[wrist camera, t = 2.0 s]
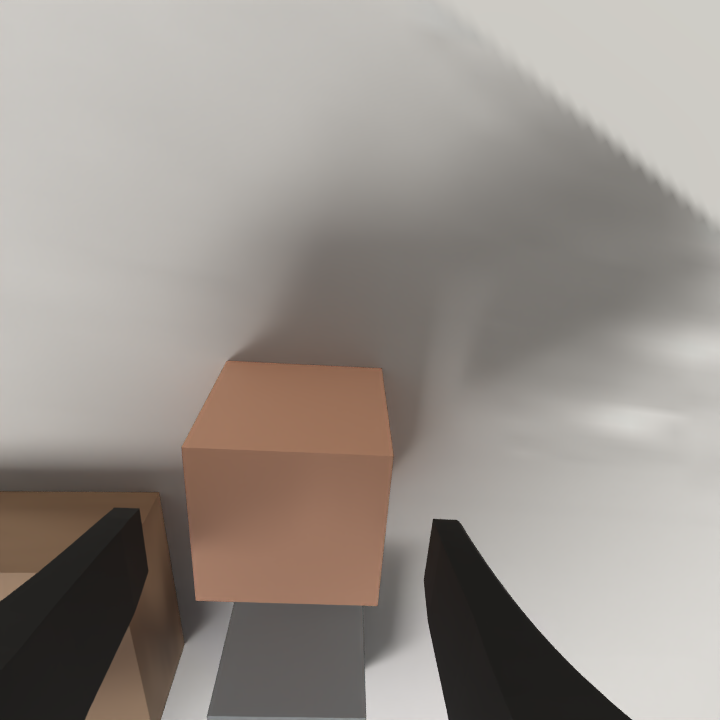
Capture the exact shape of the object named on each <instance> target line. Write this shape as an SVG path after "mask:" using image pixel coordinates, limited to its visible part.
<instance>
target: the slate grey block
mask: <svg viewBox="0 0 720 720" xmlns="http://www.w3.org/2000/svg"><path fill="white" fill-rule="evenodd" d="M207 720H366V695H365V663H364V632H363V606H359V605H324V604H289V603H255V602H234V606H233V610H232V614H231V618H230V622H229V627H228V631H227V635H226V639H225V643H224V647H223V652H222V656H221V660H220V664H219V668H218V673H217V677H216V681H215V685H214V689H213V693H212V698H211V702H210V706H209V710H208V714H207Z"/></svg>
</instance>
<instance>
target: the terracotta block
mask: <svg viewBox="0 0 720 720" xmlns="http://www.w3.org/2000/svg"><path fill="white" fill-rule="evenodd" d="M181 448H182V458H183V469H184V480H185V491H186V501H187V512H188V523H189V533H190V544H191V555H192V565H193V576H194V587H195V598H196V601H220V602H255V603H289V604H324V605H359V606H378V597H379V588H380V579H381V569H382V560H383V551H384V541H385V532H386V523H387V513H388V504H389V495H390V485H391V476H392V467H393V457H394V455H393V448H392V441H391V433H390V426H389V418H388V411H387V404H386V396H385V389H384V381H383V374H382V368H365V367H344V366H324V365H303V364H282V363H262V362H241V361H226V363H225V365H224V367H223V369H222V371H221V373H220V375H219V377H218V379H217V380H216V382H215V384H214V386H213V388H212V390H211V392H210V394H209V396H208V398H207V400H206V401H205V403H204V405H203V407H202V409H201V411H200V413H199V415H198V417H197V419H196V421H195V422H194V424H193V426H192V428H191V430H190V432H189V434H188V436H187V438H186V440H185V442H184V443H183V445H182V447H181Z"/></svg>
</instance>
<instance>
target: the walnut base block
mask: <svg viewBox="0 0 720 720" xmlns="http://www.w3.org/2000/svg"><path fill="white" fill-rule="evenodd" d="M114 507H116V508H140V515H141V522H142V529H143V536H144V543H145V549H146V556H147V563H148V570H149V571H148V575H147V578H146V581H145V584H144V587H143V590H142V593H141V596H140V599H139V602H138V605H137V608H136V611H135V613H134V616H133V618H132V620H131V622H130V624H129V627H128V629H127V631H126V633H125V635H124V637H123V639H122V642H121V644H120V646H119V648H118V650H117V652H116V654H115V656H114V659H113V661H112V663H111V665H110V667H109V669H108V671H107V673H106V675H105V678H104V680H103V682H102V684H101V686H100V688H99V690H98V692H97V694H96V697H95V699H94V701H93V703H92V705H91V707H90V709H89V712H88V714H87V716H86V719H85V720H161V717H162V714H163V711H164V708H165V704H166V701H167V698H168V695H169V692H170V689H171V686H172V682H173V679H174V676H175V673H176V670H177V667H178V664H179V660H180V657H181V654H182V651H183V648H184V645H185V644H184V638H183V632H182V626H181V620H180V614H179V608H178V602H177V596H176V590H175V584H174V578H173V572H172V566H171V560H170V554H169V548H168V542H167V536H166V530H165V524H164V518H163V512H162V506H161V500H160V494H159V492H30V491H0V601H1V600H3V599H4V598H5V597H7V596H8V595H9V594H10V593H12V592H13V591H14V590H16V589H17V588H18V587H20V586H21V585H22V584H23V583H25V582H26V581H27V580H29V579H30V578H31V577H32V576H34V575H35V574H36V573H38V572H39V571H40V570H41V569H42V568H44V567H45V566H46V565H47V564H48V563H50V562H51V561H52V560H53V559H54V558H56V557H57V556H58V555H59V554H60V553H62V552H63V551H64V550H65V549H66V548H67V547H69V546H70V545H71V544H72V543H73V542H74V541H76V540H77V539H78V538H79V537H80V536H81V535H83V534H84V533H85V532H86V531H87V530H88V529H89V528H91V527H92V526H93V525H94V524H95V523H96V522H98V521H99V520H100V519H101V518H102V517H103V516H105V515H106V514H107V513H108V512H109V511H111V510H112V509H113V508H114Z"/></svg>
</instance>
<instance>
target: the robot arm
mask: <svg viewBox="0 0 720 720" xmlns="http://www.w3.org/2000/svg"><path fill="white" fill-rule="evenodd" d="M148 571H149V570H148V563H147V556H146V549H145V543H144V536H143V529H142V522H141V515H140V508H116V507H114V508H113V509H112V510H111V511H109V512H108V513H107V514H106V515H105V516H103V517H102V518H101V519H100V520H99V521H98V522H96V523H95V524H94V525H93V526H92V527H91V528H89V529H88V530H87V531H86V532H85V533H84V534H83V535H81V536H80V537H79V538H78V539H77V540H76V541H74V542H73V543H72V544H71V545H70V546H69V547H67V548H66V549H65V550H64V551H63V552H62V553H60V554H59V555H58V556H57V557H56V558H54V559H53V560H52V561H51V562H50V563H48V564H47V565H46V566H45V567H44V568H42V569H41V570H40V571H39V572H38V573H36V574H35V575H34V576H32V577H31V578H30V579H29V580H27V581H26V582H25V583H23V584H22V585H21V586H20V587H18V588H17V589H16V590H14V591H13V592H12V593H10V594H9V595H8V596H7V597H5V598H4V599H3V600H1V601H0V720H85V719H86V716H87V714H88V712H89V709H90V707H91V705H92V703H93V701H94V699H95V697H96V694H97V692H98V690H99V688H100V686H101V684H102V682H103V680H104V678H105V675H106V673H107V671H108V669H109V667H110V665H111V663H112V661H113V659H114V656H115V654H116V652H117V650H118V648H119V646H120V644H121V642H122V639H123V637H124V635H125V633H126V631H127V629H128V627H129V624H130V622H131V620H132V618H133V616H134V613H135V611H136V608H137V605H138V602H139V599H140V596H141V593H142V590H143V587H144V584H145V581H146V578H147V575H148ZM424 587H425V598H426V608H427V617H428V624H429V629H430V634H431V638H432V643H433V648H434V653H435V658H436V662H437V667H438V672H439V676H440V681H441V686H442V690H443V695H444V700H445V704H446V709H447V714H448V719H449V720H632V719H630V718H629V717H628V716H627V715H626V714H624V713H623V712H622V711H621V710H620V709H618V708H617V707H616V706H615V705H614V704H613V703H612V702H611V701H609V700H608V699H607V698H606V697H605V696H604V695H603V694H602V693H601V692H600V691H598V690H597V689H596V688H595V687H594V686H593V685H592V684H591V683H590V682H589V681H587V680H586V679H585V678H584V677H583V676H582V675H581V674H580V673H579V672H578V671H577V670H576V669H575V668H574V667H573V666H572V665H571V664H570V663H569V662H568V661H567V660H566V659H565V658H564V657H563V656H562V655H561V654H560V653H559V652H558V651H557V650H556V649H555V648H554V647H553V646H552V644H551V643H550V642H549V641H548V640H547V639H546V638H545V637H544V636H543V635H542V633H541V632H540V631H539V630H538V629H537V628H536V627H535V625H534V624H533V623H532V622H531V621H530V620H529V618H528V617H527V616H526V615H525V613H524V612H523V611H522V610H521V609H520V607H519V606H518V605H517V604H516V602H515V601H514V600H513V599H512V597H511V596H510V595H509V593H508V592H507V591H506V589H505V588H504V587H503V585H502V584H501V583H500V581H499V580H498V579H497V577H496V576H495V574H494V573H493V572H492V570H491V569H490V567H489V566H488V565H487V563H486V562H485V560H484V559H483V557H482V556H481V554H480V553H479V551H478V550H477V548H476V547H475V545H474V544H473V542H472V541H471V539H470V538H469V536H468V534H467V533H466V531H465V530H464V528H463V526H462V525H461V523H460V522H459V521H458V520H444V519H433V523H432V529H431V536H430V543H429V549H428V556H427V562H426V569H425V575H424Z"/></svg>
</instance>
